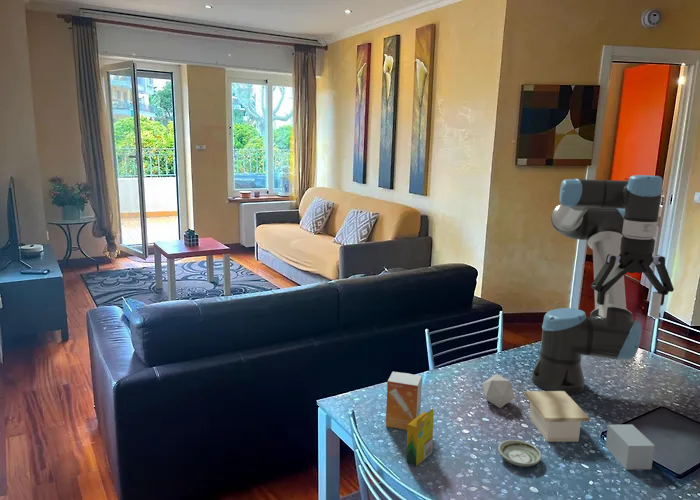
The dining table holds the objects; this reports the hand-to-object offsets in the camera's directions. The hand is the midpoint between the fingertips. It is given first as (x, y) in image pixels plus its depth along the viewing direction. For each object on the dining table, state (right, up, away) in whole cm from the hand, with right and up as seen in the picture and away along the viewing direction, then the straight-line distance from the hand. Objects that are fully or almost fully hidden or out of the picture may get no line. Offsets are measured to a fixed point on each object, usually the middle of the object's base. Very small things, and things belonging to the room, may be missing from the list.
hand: (628, 316), depth 135 cm
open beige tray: (-20, -29, -1) cm, 35 cm away
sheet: (-20, -23, -2) cm, 31 cm away
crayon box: (-57, -31, -14) cm, 66 cm away
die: (-31, -26, +12) cm, 42 cm away
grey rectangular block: (-7, -32, -13) cm, 35 cm away
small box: (-59, -28, +1) cm, 65 cm away
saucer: (-33, -32, -14) cm, 48 cm away
